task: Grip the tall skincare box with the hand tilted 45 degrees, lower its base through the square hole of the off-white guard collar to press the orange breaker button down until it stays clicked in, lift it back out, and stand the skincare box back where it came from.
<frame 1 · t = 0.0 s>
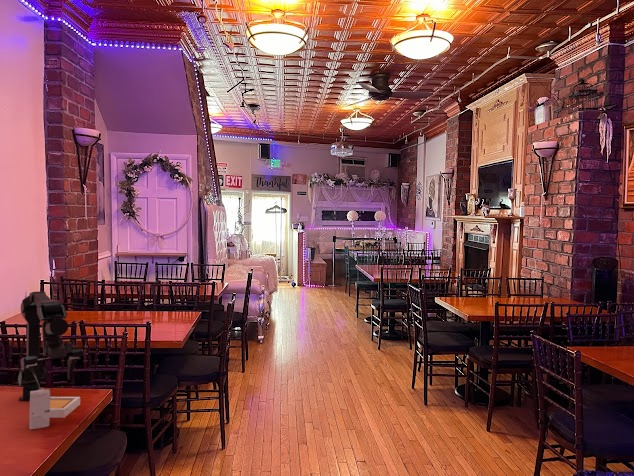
hand: (54, 382, 162), 15 cm above the table, tool pointing down, fingers open, 9 cm apart
skincare box: (39, 426, 163), on the table
breaker guard: (55, 410, 176), on the table
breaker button: (55, 405, 176), point 2 cm above the table, slide at 0.0 cm
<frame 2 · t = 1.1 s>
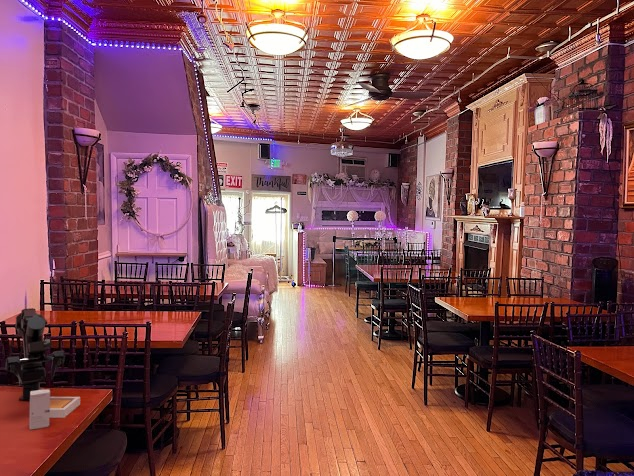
hand: (37, 381, 169), 13 cm above the table, tool tilted 45°, fingers open, 9 cm apart
nothing on the table moved.
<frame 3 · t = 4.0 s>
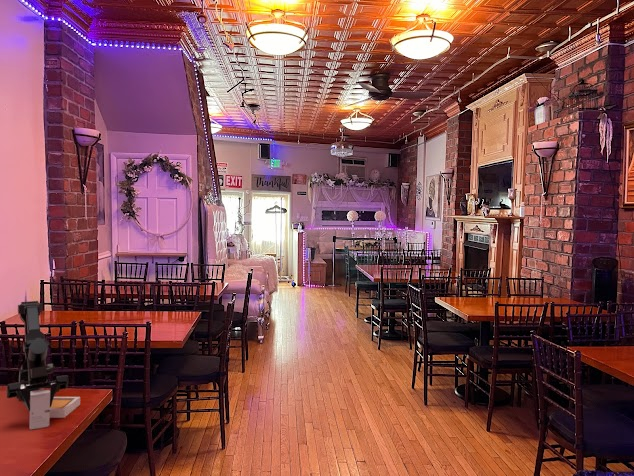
hand: (40, 408, 162), 7 cm above the table, tool tilted 45°, fingers closed on skincare box, 6 cm apart
skincare box: (39, 426, 163), on the table, touching gripper
everything else where it was.
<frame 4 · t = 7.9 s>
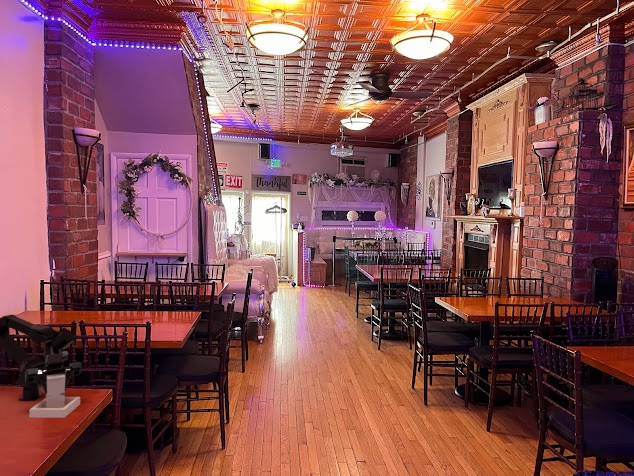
hand: (56, 392, 175), 8 cm above the table, tool tilted 45°, fingers closed on skincare box, 6 cm apart
skincare box: (55, 408, 176), point 1 cm above the table, touching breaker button, gripper
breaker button: (55, 409, 176), point 1 cm above the table, slide at 1.5 cm, touching skincare box
when the fingers open (8 cm above the table, at t = 12.0 s): skincare box drops 1 cm, on the table.
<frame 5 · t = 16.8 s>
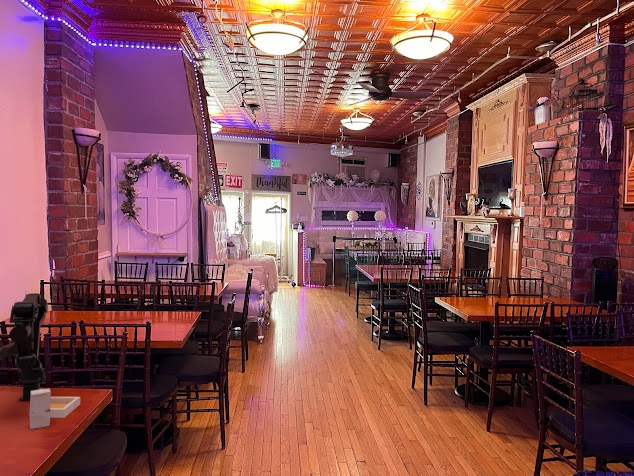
hand: (24, 377, 174), 13 cm above the table, tool pointing down, fingers open, 9 cm apart
skincare box: (40, 425, 164), on the table
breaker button: (55, 408, 176), point 1 cm above the table, slide at 1.3 cm
at the end: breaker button slide at 1.3 cm; skincare box inside the target area (0.5 cm from its centre), on the table; skincare box tilted 0° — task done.
